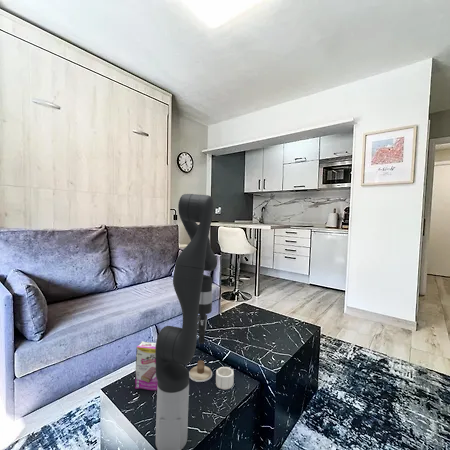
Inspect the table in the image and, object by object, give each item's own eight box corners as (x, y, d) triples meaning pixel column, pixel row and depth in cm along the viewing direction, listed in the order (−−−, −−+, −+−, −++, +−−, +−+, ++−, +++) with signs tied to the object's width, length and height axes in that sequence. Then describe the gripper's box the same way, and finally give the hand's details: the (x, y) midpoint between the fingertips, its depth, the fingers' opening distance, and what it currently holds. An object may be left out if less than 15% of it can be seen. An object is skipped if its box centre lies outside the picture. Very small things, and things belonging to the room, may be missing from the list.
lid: (211, 380, 101) (211, 368, 101) (188, 380, 101) (189, 368, 101) (211, 367, 110) (211, 356, 110) (190, 367, 110) (191, 356, 110)
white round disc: (212, 382, 101) (212, 381, 101) (187, 381, 100) (187, 380, 100) (212, 367, 111) (212, 366, 111) (189, 367, 110) (189, 366, 110)
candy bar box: (134, 389, 95) (135, 346, 94) (139, 381, 100) (141, 340, 99) (162, 392, 93) (163, 349, 93) (166, 384, 98) (168, 343, 98)
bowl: (233, 389, 97) (234, 377, 97) (216, 389, 96) (216, 377, 96) (232, 378, 104) (232, 367, 104) (215, 378, 103) (216, 367, 103)
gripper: (211, 306, 98) (210, 347, 98) (212, 295, 112) (210, 331, 113) (193, 306, 98) (191, 346, 98) (195, 295, 112) (194, 330, 112)
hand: (202, 338), depth 105 cm, fingers open, 8 cm apart
